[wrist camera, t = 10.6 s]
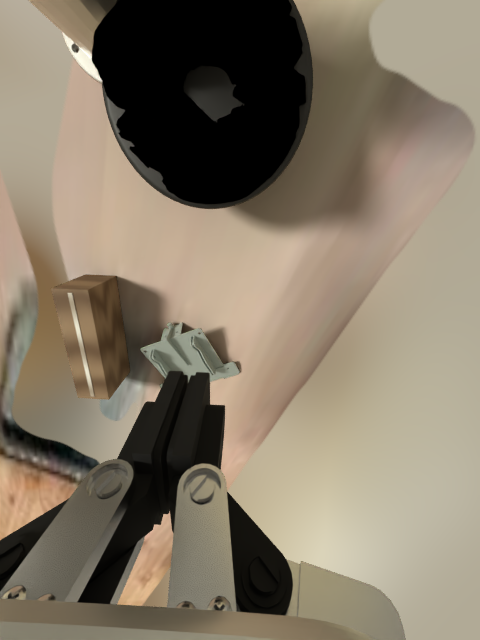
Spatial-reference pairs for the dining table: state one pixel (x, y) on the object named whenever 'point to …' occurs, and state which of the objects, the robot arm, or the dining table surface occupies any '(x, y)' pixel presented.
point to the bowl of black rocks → (206, 93)
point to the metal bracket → (187, 354)
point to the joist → (93, 334)
